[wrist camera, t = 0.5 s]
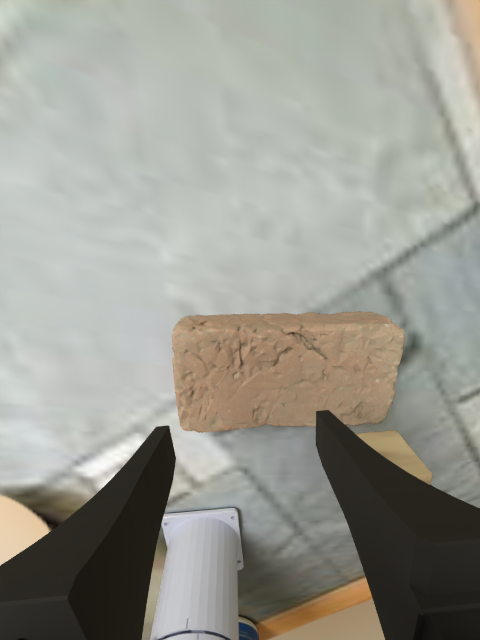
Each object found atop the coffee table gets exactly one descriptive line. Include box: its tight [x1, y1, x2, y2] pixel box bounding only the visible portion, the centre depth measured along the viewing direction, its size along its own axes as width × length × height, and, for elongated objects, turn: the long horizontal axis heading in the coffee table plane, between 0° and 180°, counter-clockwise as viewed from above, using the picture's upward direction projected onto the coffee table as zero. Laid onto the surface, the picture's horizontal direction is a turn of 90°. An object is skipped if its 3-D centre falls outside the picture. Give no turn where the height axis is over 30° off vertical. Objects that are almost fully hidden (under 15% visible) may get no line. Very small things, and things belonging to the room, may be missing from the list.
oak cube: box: [356, 430, 432, 485], centre depth 24 cm, size 5×5×5 cm
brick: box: [172, 312, 405, 432], centre depth 21 cm, size 17×8×5 cm, turn 90°
